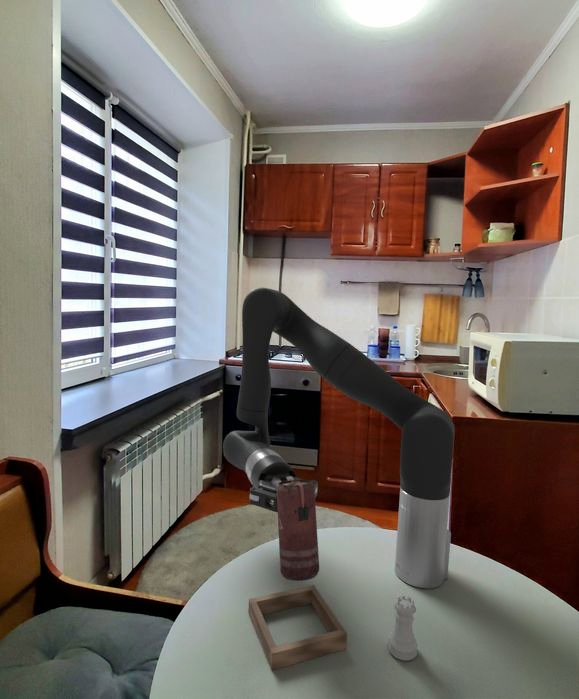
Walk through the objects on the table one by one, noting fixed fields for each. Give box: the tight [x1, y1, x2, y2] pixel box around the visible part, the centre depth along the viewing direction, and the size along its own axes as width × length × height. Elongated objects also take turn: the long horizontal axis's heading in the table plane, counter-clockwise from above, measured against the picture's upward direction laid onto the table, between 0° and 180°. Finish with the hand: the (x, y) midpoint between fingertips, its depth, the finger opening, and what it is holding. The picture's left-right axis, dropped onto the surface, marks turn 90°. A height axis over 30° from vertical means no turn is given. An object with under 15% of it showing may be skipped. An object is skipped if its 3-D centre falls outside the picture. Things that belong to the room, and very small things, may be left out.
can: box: [277, 479, 320, 582], centre depth 67 cm, size 6×6×14 cm
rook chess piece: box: [386, 595, 418, 662], centre depth 64 cm, size 4×4×8 cm
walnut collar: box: [247, 584, 348, 671], centre depth 67 cm, size 12×12×2 cm
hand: (304, 515), depth 64 cm, fingers closed
